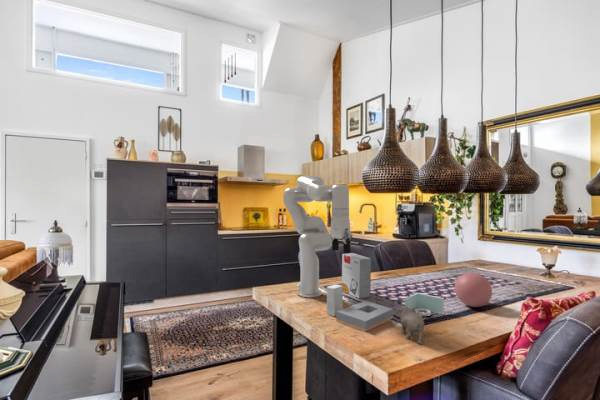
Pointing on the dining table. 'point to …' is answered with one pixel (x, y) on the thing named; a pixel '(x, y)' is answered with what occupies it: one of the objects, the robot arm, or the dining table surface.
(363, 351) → the dining table surface
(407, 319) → the elephant figurine
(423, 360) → the dining table surface
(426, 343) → the dining table surface
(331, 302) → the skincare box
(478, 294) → the dusty rose ball
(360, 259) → the hard drive box
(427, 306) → the right angle wall
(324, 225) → the robot arm
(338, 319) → the pocket block
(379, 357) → the dining table surface
